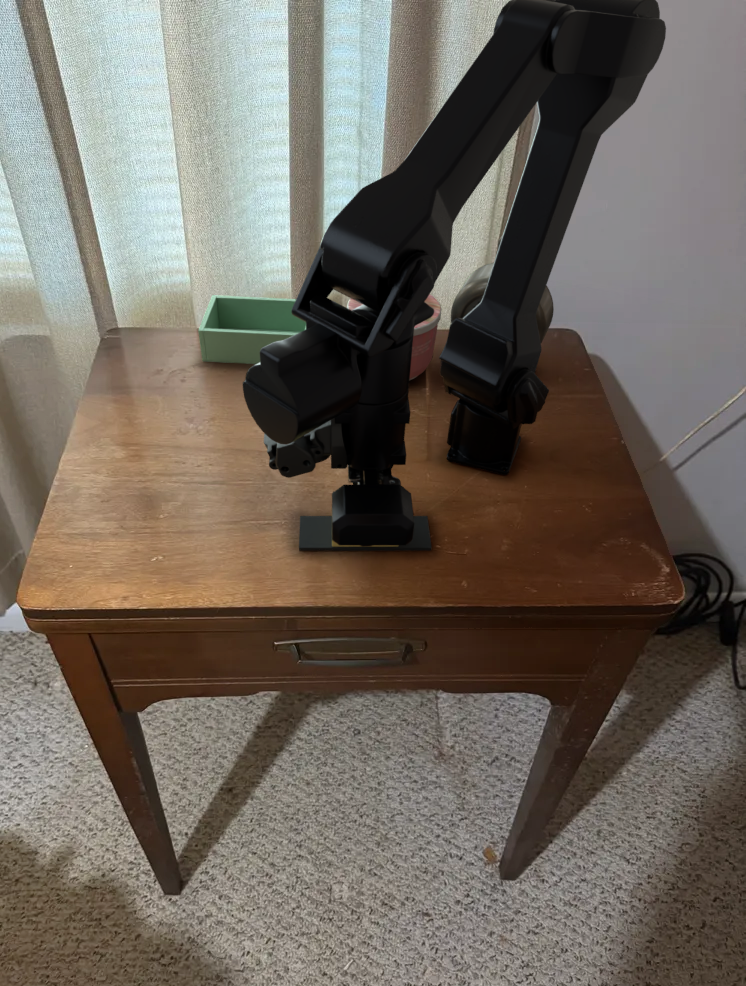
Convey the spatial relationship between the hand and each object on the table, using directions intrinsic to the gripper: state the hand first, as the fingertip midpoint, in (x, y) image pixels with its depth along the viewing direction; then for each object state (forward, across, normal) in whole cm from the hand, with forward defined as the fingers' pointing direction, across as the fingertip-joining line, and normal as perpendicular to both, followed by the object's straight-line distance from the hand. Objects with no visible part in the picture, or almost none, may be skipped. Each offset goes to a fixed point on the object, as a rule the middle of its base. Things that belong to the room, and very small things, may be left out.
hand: (365, 527), depth 69 cm
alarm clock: (+1, -28, +16) cm, 32 cm away
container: (+1, -28, +4) cm, 28 cm away
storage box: (+1, -32, -12) cm, 34 cm away
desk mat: (+1, 0, 0) cm, 1 cm away
